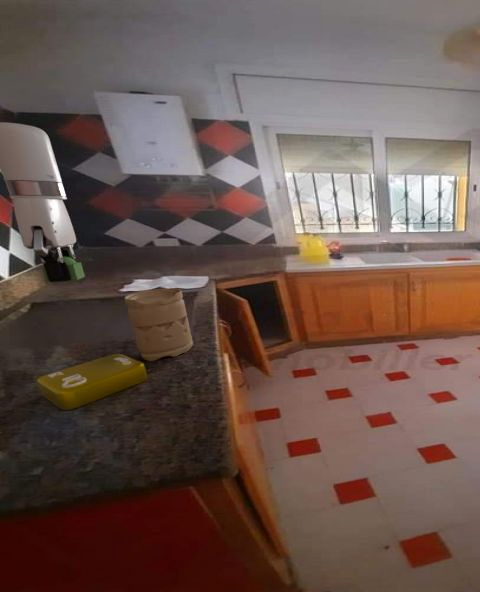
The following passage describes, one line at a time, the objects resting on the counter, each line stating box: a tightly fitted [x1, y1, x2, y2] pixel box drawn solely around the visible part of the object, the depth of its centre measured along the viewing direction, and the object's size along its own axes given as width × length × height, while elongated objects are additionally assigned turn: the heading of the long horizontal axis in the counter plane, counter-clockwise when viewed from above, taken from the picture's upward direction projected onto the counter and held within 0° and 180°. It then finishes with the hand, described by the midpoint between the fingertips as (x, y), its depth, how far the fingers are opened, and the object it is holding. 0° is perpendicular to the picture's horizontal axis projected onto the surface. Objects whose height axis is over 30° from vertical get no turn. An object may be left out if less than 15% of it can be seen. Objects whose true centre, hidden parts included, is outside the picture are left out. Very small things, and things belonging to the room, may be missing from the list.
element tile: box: [36, 353, 148, 411], centre depth 75 cm, size 15×15×5 cm
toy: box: [41, 257, 86, 283], centre depth 69 cm, size 5×4×5 cm
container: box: [124, 287, 194, 362], centre depth 92 cm, size 13×13×18 cm
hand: (65, 278), depth 69 cm, fingers closed on toy, 4 cm apart
